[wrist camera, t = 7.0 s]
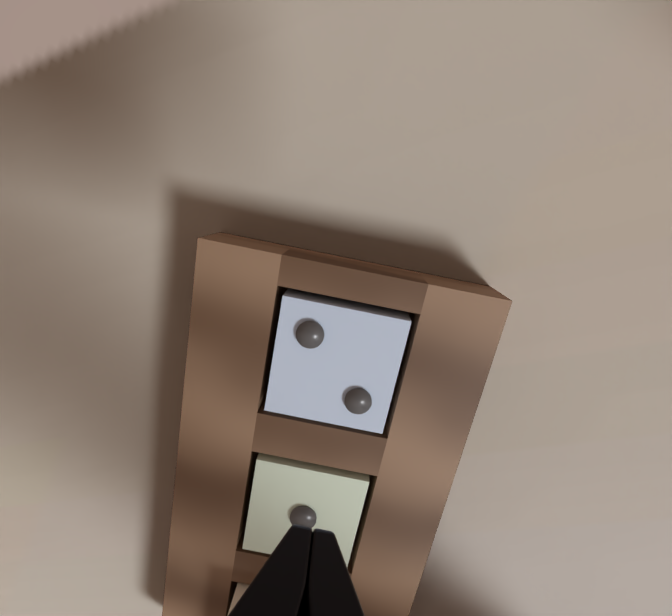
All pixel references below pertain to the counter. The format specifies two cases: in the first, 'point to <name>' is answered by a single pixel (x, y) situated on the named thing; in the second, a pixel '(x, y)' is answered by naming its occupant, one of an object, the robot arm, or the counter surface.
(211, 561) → the board
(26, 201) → the counter surface
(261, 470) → the tile
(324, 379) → the tile
